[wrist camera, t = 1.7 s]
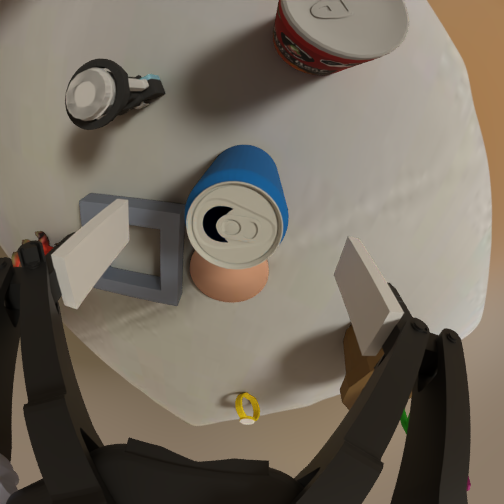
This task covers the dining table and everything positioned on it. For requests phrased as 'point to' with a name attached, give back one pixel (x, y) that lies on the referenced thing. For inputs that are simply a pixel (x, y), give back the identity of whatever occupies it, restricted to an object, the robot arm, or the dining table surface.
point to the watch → (243, 417)
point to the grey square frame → (171, 248)
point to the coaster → (228, 280)
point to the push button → (107, 93)
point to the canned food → (337, 32)
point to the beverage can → (237, 209)
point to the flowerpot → (361, 374)
